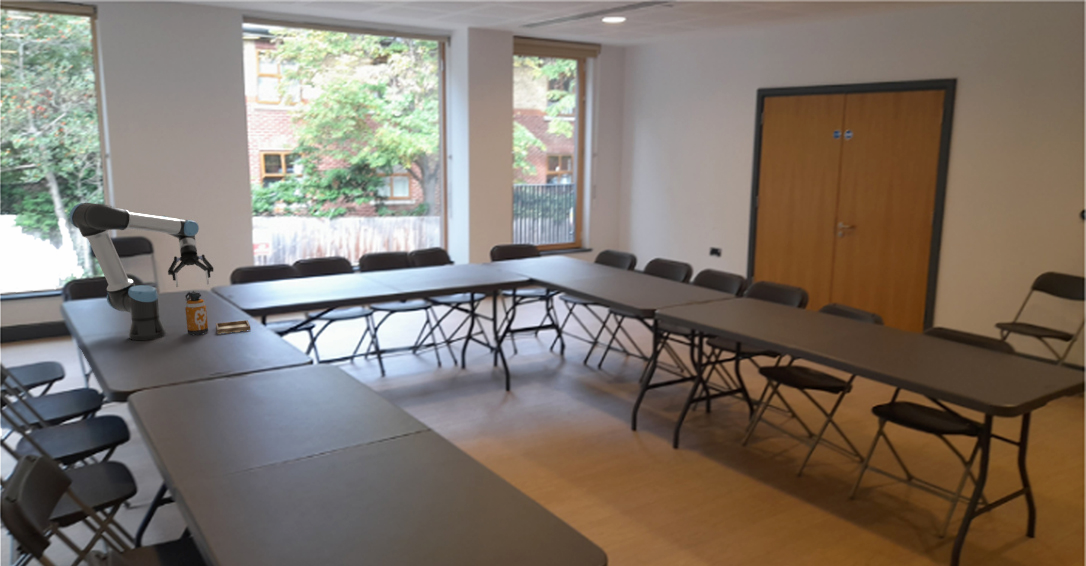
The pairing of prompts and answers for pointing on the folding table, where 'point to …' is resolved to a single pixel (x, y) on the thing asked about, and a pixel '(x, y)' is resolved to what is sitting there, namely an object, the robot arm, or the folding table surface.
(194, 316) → the canister
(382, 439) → the folding table surface
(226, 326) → the wooden tray
